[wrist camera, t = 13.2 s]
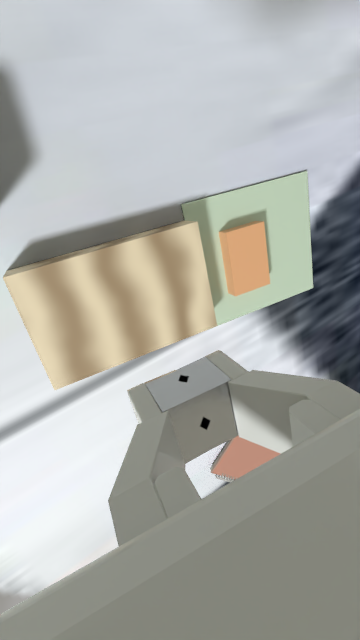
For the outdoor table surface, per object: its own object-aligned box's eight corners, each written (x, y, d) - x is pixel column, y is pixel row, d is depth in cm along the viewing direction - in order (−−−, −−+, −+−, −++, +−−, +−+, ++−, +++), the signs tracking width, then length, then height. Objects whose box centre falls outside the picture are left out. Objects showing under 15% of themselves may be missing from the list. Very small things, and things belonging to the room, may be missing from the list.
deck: (184, 220, 42) (197, 221, 38) (204, 317, 47) (217, 325, 44) (6, 270, 36) (2, 277, 32) (53, 374, 41) (54, 390, 38)
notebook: (203, 470, 58) (208, 478, 56) (254, 392, 57) (260, 398, 55) (293, 496, 71) (299, 503, 69) (335, 433, 70) (343, 438, 68)
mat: (305, 171, 46) (307, 170, 46) (311, 287, 54) (313, 287, 53) (181, 204, 41) (182, 204, 41) (206, 329, 48) (207, 329, 48)
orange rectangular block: (226, 232, 42) (218, 231, 44) (235, 296, 46) (228, 293, 47) (264, 221, 44) (255, 220, 45) (270, 283, 47) (262, 281, 49)
